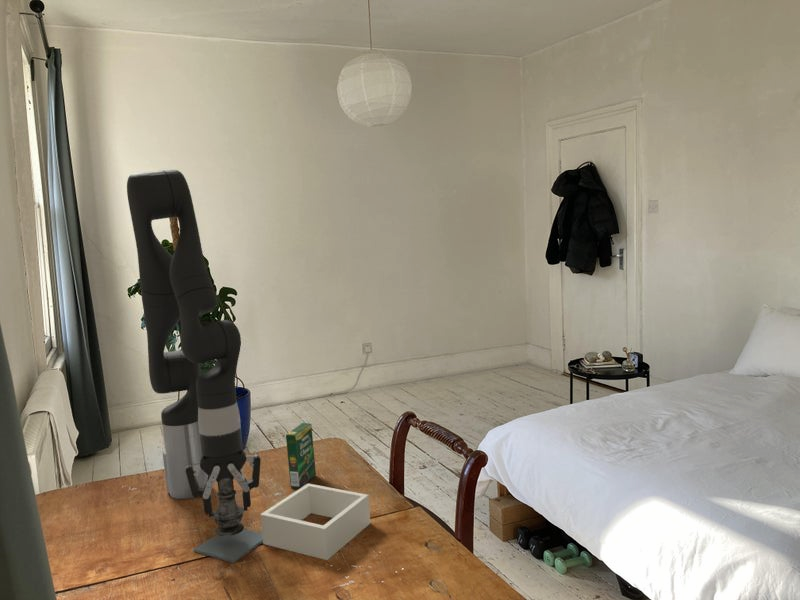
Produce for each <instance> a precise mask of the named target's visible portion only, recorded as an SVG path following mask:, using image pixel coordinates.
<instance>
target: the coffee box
mask: <svg viewBox="0 0 800 600" xmlns="http://www.w3.org/2000/svg"><path fill="white" fill-rule="evenodd" d="M312 427H313V426H312V423H307V422H302V423H300V424H299V425H298V426H296V427H295V428H294V429H292V430H290V431H289V432H287V433H286V435H285V438H286V439H285V441H286V451H287V462H288V472H289V473H288V474H289V484H290V488H291V489H292V488H294V489H298V490H299V489H300V488H302V487H303V486H305V485H306V484H308V483H309V481H311V480H312V479H314V477H316V475H317V471H316V461H315V460H316V458H315V450H314V449H315V448H314V439H313V437H314V436H313V429H312Z"/></svg>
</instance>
